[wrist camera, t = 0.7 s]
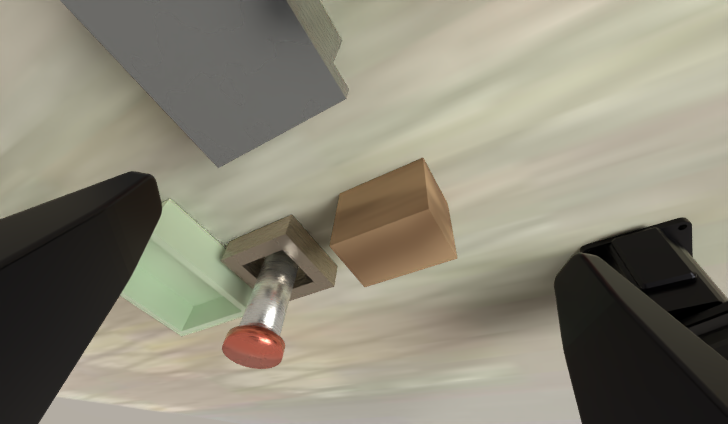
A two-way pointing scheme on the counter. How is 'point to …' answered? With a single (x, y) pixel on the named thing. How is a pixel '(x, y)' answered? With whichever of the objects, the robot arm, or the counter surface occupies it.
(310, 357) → the counter surface
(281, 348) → the pin
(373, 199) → the block
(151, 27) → the trolley
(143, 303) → the tray
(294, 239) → the pin socket
